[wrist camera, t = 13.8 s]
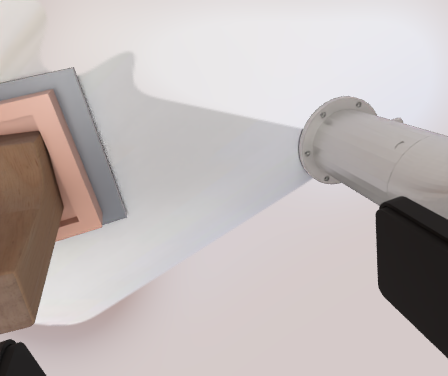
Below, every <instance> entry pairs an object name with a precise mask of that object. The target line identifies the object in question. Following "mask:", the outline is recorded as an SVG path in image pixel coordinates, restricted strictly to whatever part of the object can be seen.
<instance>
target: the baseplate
mask: <svg viewBox="0 0 448 376" xmlns="http://www.w3.org/2000/svg"><path fill="white" fill-rule="evenodd" d="M32 131H40V133H41V136H42V138H43V140H44V142H45V145H46V147H47V149H48V152H49V156H50V160H51V163H52V167H53V170H54V174H55V177H56V181H57V184H58V188H59V192H60V195H61V199H62V202H63V206H64V209H63V213H62V217H61V221H60V225H59V229H58V233H57V237H56V241H59V240H63V239H66V238H69V237H72V236H75V235H79V234H82V233H85V232H88V231H92V230H95V229H98V228H101V227H102V225H104V224H107V223H111V222H114V221H117V220H120V219H123V218H127V214H126V210H125V207H124V205H123V202H122V199H121V196H120V193H119V191H118V188H117V185H116V182H115V180H114V177H113V174H112V171H111V169H110V166H109V163H108V160H107V158H106V155H105V152H104V149H103V147H102V144H101V141H100V138H99V136H98V133H97V130H96V127H95V125H94V122H93V119H92V116H91V113H90V111H89V108H88V105H87V102H86V100H85V97H84V94H83V91H82V89H81V86H80V83H79V80H78V78H77V75H76V72H75V70H74V67H73V68H68V69H63V70H59V71H54V72H49V73H45V74H40V75H36V76H31V77H27V78H22V79H18V80H13V81H8V82H4V83H0V135H8V134H16V133H24V132H32ZM56 241H55V242H56Z"/></svg>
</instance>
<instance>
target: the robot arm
mask: <svg viewBox="0 0 448 376" xmlns="http://www.w3.org/2000/svg"><path fill="white" fill-rule="evenodd" d="M320 114H321V115H320ZM299 155H300V159H301V163H302V165H303V167H304V169H305V170H306V172H307V173H308V174H309V175H310V176H312V177H313V178H314V179H316V180H318V181H319V182H322V183H326V184H337V183H343V184H345V185H347V186H348V187H350V188H351V189H353V190H355V191H356V192H358V193H360V194H361V195H363V196H365V197H366V198H368V199H370V200H371V201H373V202H374V203H376V204H378V205H379V206H380V207H379V210H378V211H377V212H376V239H377V265H378V266H377V267H378V286H379V289H380V291H381V293H382V295H383V296H384V297H385V298H386V299H387V300H388V301H389V302H390V303H391V304H392V305H393V306H394V307H395V308H396V309H397V310H398V311H399V312H400V313H401V314H402V315H403V316H404V317H405V318H407V319H408V320H409V321H410V322H411V323H412V324H413V325H414V326H415V327H416V328H417V329H418V330H419V331H420V332H421V333H422V334H423V335H424V336H425V337H426V338H427V339H428V340H429V341H430V342H431V343H433V344H434V345H435V346H436V347H437V348H438V349H439V350H440V351H441V352H442V353H443V354H444V355H445V356H446V357H447V358H448V136H445V135H441V134H438V133H434V132H431V131H428V130H424V129H421V128H417V127H414V126H410V125H407V124H403V121H402V119H401V118H396V119H393V120H389V119H385V118H382V117H378V116H377V114H376V113H375V111H374V109H373V108H372V107H371V106H370V105H369V104H368V103H367V102H365V101H364V100H361V99H358V98H355V97H349V96H346V97H338V98H334V99H332V100H330V101H328V102H326V103H324V104H323V105H322V106H320V107H319V108H318V109H317V110H316V111H315V112H314V113H313V114H312V115H311V117H310V118H309V120H308V121H307V123H306V125H305V127H304V129H303V131H302V134H301V138H300V144H299ZM0 376H46V374H45V373H44V372H43V370H42V369H41V368H40V366H39V364H38V363H37V361H36V360H35V359H34V357H33V356H32V354H31V353H30V351H29V350H28V349H27V347H26V346H25V345H24V343H22V342H19V343H16V342H15V341H14V340H11V339H9V340H6V341H3V342H0Z"/></svg>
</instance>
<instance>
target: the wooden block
mask: <svg viewBox="0 0 448 376" xmlns="http://www.w3.org/2000/svg"><path fill="white" fill-rule="evenodd" d="M63 209H64V206H63V202H62V199H61V195H60V192H59V188H58V184H57V181H56V177H55V174H54V170H53V167H52V163H51V160H50V156H49V152H48V149H47V147H46V145H45V142H44V140H43V138H42V136H41V133H40V131H32V132H24V133H16V134H8V135H0V334H3V333H7V332H11V331H15V330H19V329H23V328H27V327H30V326H32V325H33V324H34V323H35V319H36V315H37V311H38V307H39V303H40V300H41V296H42V292H43V288H44V284H45V280H46V276H47V272H48V268H49V264H50V260H51V256H52V252H53V249H54V245H55V241H56V237H57V233H58V229H59V225H60V221H61V217H62V213H63Z"/></svg>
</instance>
